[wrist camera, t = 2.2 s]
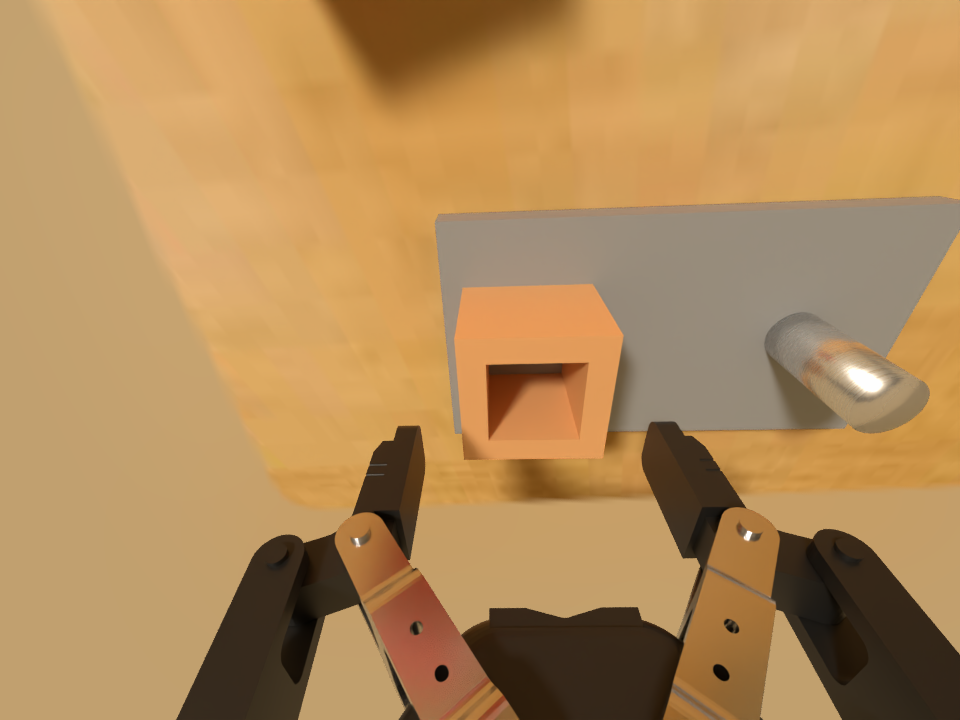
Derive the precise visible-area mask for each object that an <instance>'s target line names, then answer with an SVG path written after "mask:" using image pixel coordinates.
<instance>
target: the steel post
mask: <svg viewBox="0 0 960 720" xmlns="http://www.w3.org/2000/svg"><path fill="white" fill-rule="evenodd" d="M764 347H765V350H766V352H767V353H768V354H769V355H770V356H771V357H772V358H773V359H774V360H775V361H777V362H778V363H779V364H780V365H781V366H782V367H783V368H785V369H786V370H787V371H788V372H789V373H790V374H792V375H793V376H794V377H795V378H796V379H797V380H798V381H800V382H801V383H802V384H803V385H804V386H805V387H807V388H808V389H809V390H810V391H811V392H812V393H813V394H815V395H816V396H817V397H818V398H819V399H820V400H822V401H823V402H824V403H825V404H826V405H827V406H828V407H830V408H831V409H832V410H833V411H834V412H835V413H836V414H838V415H839V416H840V417H841V418H842V419H843V420H845V421H846V422H847V423H848V424H849V425H850V426H851V427H853V428H854V429H855V430H857V431H859V432H863V433H880V432H885V431H888V430H892V429H894V428H897V427H899V426H901V425H903V424H905V423H907V422H908V421H910V420H911V419H913V418H914V417H915V416H916V415H917V414H919V413H920V412H921V410H922V409H923V408H924V407H925V405H926V404H927V402H928V399H929V394H930V392H929V388H928V386H927V385H926V384H925V383H924V382H923V381H921V380H919V379H918V378H916V377H915V376H913V375H911V374H910V373H908V372H907V371H905V370H903V369H902V368H900V367H899V366H897V365H895V364H894V363H892V362H890V361H889V360H887V359H886V358H884V357H882V356H881V355H879V354H878V353H876V352H874V351H873V350H871V349H870V348H868V347H866V346H865V345H863V344H861V343H860V342H858V341H857V340H855V339H853V338H852V337H850V336H849V335H847V334H845V333H844V332H842V331H841V330H839V329H837V328H836V327H834V326H832V325H831V324H829V323H828V322H826V321H824V320H823V319H821V318H820V317H818V316H816V315H814V314H812V313H808V312H799V313H795V314H791V315H789V316H786V317H784V318H783V319H781V320H779V321H778V322H777V323H776V324H775V325H773V327H772V328H771V329H770V330H769V331H768V333H767V335H766V337H765V341H764Z"/></svg>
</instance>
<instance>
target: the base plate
mask: <svg viewBox="0 0 960 720" xmlns="http://www.w3.org/2000/svg"><path fill="white" fill-rule="evenodd" d="M435 228H436V239H437V249H438V260H439V270H440V281H441V291H442V302H443V312H444V323H445V333H446V344H447V354H448V365H449V375H450V386H451V396H452V407H453V417H454V428H455V434H462V428H461V416H460V404H459V391H458V379H457V367H456V355H455V343H454V337H455V331H456V325H457V319H458V313H459V307H460V301H461V294H462V288H468V287H503V286H539V285H574V284H593V285H594V287H595V288H596V290H597V292H598V293H599V295H600V297H601V298H602V300H603V302H604V303H605V305H606V307H607V308H608V310H609V312H610V313H611V315H612V317H613V318H614V320H615V322H616V324H617V325H618V327H619V329H620V330H621V332H622V334H623V335H624V337H623V342H622V348H621V354H620V360H619V366H618V372H617V378H616V384H615V389H614V395H613V401H612V407H611V413H610V419H609V425H608V431H607V432H615V431H648V427H649V424H650V423H651V422H660V421H674V422H676V423H677V425H678V426H679V428H680V429H681V431H690V430H764V429H839V428H845V427H846V425H847V424H848V423H847V422H846V421H845V420H843V419H842V418H841V417H840V416H839V415H838V414H836V413H835V412H834V411H833V410H832V409H831V408H830V407H828V406H827V405H826V404H825V403H824V402H823V401H822V400H820V399H819V398H818V397H817V396H816V395H815V394H813V393H812V392H811V391H810V390H809V389H808V388H807V387H805V386H804V385H803V384H802V383H801V382H800V381H798V380H797V379H796V378H795V377H794V376H793V375H792V374H790V373H789V372H788V371H787V370H786V369H785V368H783V367H782V366H781V365H780V364H779V363H778V362H777V361H775V360H774V359H773V358H772V357H771V356H770V355H769V354H768V353H767V352H766V350H765V347H764V341H765V337H766V335H767V333H768V331H769V330H770V329H771V328H772V327H773V325H775V324H776V323H777V322H778V321H779V320H781V319H783V318H784V317H786V316H789V315H791V314H795V313H799V312H808V313H812V314H814V315H816V316H818V317H820V318H821V319H823V320H824V321H826V322H828V323H829V324H831V325H832V326H834V327H836V328H837V329H839V330H841V331H842V332H844V333H845V334H847V335H849V336H850V337H852V338H853V339H855V340H857V341H858V342H860V343H861V344H863V345H865V346H866V347H868V348H870V349H871V350H873V351H874V352H876V353H878V354H879V355H881V356H882V357H884V358H886V356H887V355H888V353H889V351H890V349H891V348H892V346H893V344H894V343H895V341H896V339H897V337H898V336H899V334H900V332H901V330H902V329H903V327H904V325H905V324H906V322H907V320H908V318H909V317H910V315H911V313H912V312H913V310H914V308H915V306H916V305H917V303H918V301H919V299H920V298H921V296H922V294H923V293H924V291H925V289H926V287H927V286H928V284H929V282H930V281H931V279H932V277H933V275H934V274H935V272H936V270H937V268H938V267H939V265H940V263H941V262H942V260H943V258H944V256H945V255H946V253H947V251H948V249H949V248H950V246H951V244H952V243H953V241H954V239H955V237H956V236H957V234H958V232H959V231H960V200H957V199H951V198H946V197H940V196H938V197H910V198H882V199H854V200H826V201H798V202H770V203H742V204H714V205H685V206H657V207H629V208H601V209H573V210H545V211H517V212H489V213H461V214H439V215H438V217H437V219H436V221H435ZM551 373H562V363H544V364H494V365H489V375H499V374H551Z"/></svg>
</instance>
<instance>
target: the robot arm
mask: <svg viewBox="0 0 960 720" xmlns="http://www.w3.org/2000/svg"><path fill="white" fill-rule="evenodd" d="M642 466H643V470H644V473H645V475H646V477H647V480H648V482H649V484H650V486H651V489H652V491H653V493H654V495H655V497H656V500H657V502H658V504H659V506H660V509H661V510H662V513H663V515H664V517H665V520H666V522H667V524H668V526H669V529H670V531H671V533H672V535H673V537H674V540H675V542H676V544H677V546H678V549H679V551H680V553H681V555H682V557H683V558H697V560H698V562H699V564H700V568H699V571H698V574H697V577H696V580H695V583H694V586H693V589H692V592H691V595H690V598H689V602H688V605H687V608H686V611H685V614H684V617H683V621H682V623H681V626H680V629H679V631H678V634H677V637H675V636H673V635H672V634H670V633H669V632H667V631H666V630H664V629H662V628H660V627H658V626H657V625H654V624H652V623H649V622H647V621H643V620H641V616H640V613H639V610H638V608H637V607H615V608H614V607H613V608H598V609H595V610H592V611H588V612H585V613H582V614H578V615H575V616H572V617H569V618H561V617H557V616H553V615H549V614H545V613H542V612H538V611H534V610H530V609H527V608H490V610H489V612H490V613H489V614H490V616H489V620H488V621H484V622H481V623H480V624H477V625H475V626H473V627H471V628H470V629H468V630H467V631H465V632H464V633H463V634H462V635H461V634H460V633H459V631H458V630H457V628H456V626H455V625H454V623H453V622H452V620H451V619H450V617H449V615H448V614H447V612H446V611H445V609H444V608H443V606H442V605H441V603H440V601H439V600H438V599H437V597H436V596H435V594H434V592H433V591H432V589H431V587H430V586H429V584H428V583H427V581H426V580H425V578H424V576H423V575H422V574H421V572H420V571H419V570H418V569H417V568H415V569H413V568H412V566H411V565H410V563H409V562H408V560H410V556H411V550H412V544H413V538H414V532H415V527H416V521H417V516H418V510H419V504H420V498H421V492H422V486H423V481H424V474H425V455H424V448H423V442H422V435H421V429H420V426H398V428H397V431H396V434H395V438H394V441H383V442H382V443H381V444H380V445H379V446H378V448H377V449H376V450H375V451H374V452H373V455H372V458H371V461H370V466H369V467H368V470H367V473H366V476H365V479H364V482H363V485H362V488H361V491H360V494H359V497H358V500H357V503H356V506H355V509H354V512H353V514H352V516H351V517H350V518H348V519H347V520H345V521H344V522H343V523H342V525H341V526H340V527H339V528H338V530H337V531H336V532H335V533H333V534H331V535H329V536H326V537H323V538H320V539H316V540H313V541H310V542H306V543H303V541H302V540H301V539H300V538H299V537H297V536H295V535H281V536H278V537H276V538H273V539H271V540H269V541H268V542H266V543H265V544H264V545H262V546H261V547H260V548H259V549H258V550H257V551H256V553H255V554H254V556H253V557H252V559H251V562H250V564H249V566H248V568H247V570H246V572H245V574H244V576H243V578H242V581H241V583H240V585H239V587H238V589H237V591H236V593H235V596H234V598H233V600H232V602H231V604H230V606H229V608H228V610H227V613H226V615H225V617H224V619H223V621H222V623H221V626H220V628H219V630H218V632H217V634H216V636H215V638H214V640H213V643H212V645H211V647H210V649H209V651H208V653H207V655H206V657H205V660H204V662H203V664H202V666H201V668H200V670H199V673H198V675H197V677H196V679H195V681H194V684H193V685H192V688H191V689H190V692H189V694H188V696H187V698H186V700H185V703H184V704H183V707H182V709H181V711H180V713H179V715H178V717H177V719H176V720H298V717H299V713H300V710H301V706H302V702H303V698H304V694H305V691H306V687H307V683H308V679H309V676H310V672H311V668H312V664H313V661H314V657H315V653H316V649H317V645H318V642H319V638H320V634H321V630H322V627H323V623H324V619H325V616H326V615H329V614H332V613H334V612H337V611H340V610H343V609H346V608H349V607H351V606H354V605H358V607H359V609H360V611H361V613H362V616H363V618H364V620H365V622H366V624H367V626H368V629H369V631H370V633H371V635H372V637H373V639H374V642H375V644H376V646H377V648H378V650H379V652H380V655H381V657H382V659H383V662H384V664H385V666H386V669H387V671H388V673H389V676H390V678H391V681H392V683H393V685H394V687H395V689H396V692H397V693H398V696H399V698H400V700H401V702H402V705H403V707H404V709H405V711H404V713H403V714H402V715H401V717H400V718H399V720H763V719H762V718H761V717H760V715H761V708H762V701H763V694H764V687H765V681H766V673H767V667H768V659H769V653H770V646H771V639H772V632H773V625H774V618H775V611H776V610H780V611H783V612H784V614H785V616H786V618H787V619H788V621H789V623H790V625H791V627H792V629H793V630H794V632H795V634H796V636H797V638H798V639H799V641H800V643H801V645H802V647H803V649H804V651H805V652H806V654H807V656H808V658H809V660H810V661H811V663H812V665H813V667H814V669H815V671H816V673H817V674H818V676H819V678H820V680H821V682H822V683H823V685H824V687H825V689H826V691H827V693H828V695H829V696H830V698H831V700H832V702H833V704H834V706H835V707H836V709H837V711H838V713H839V715H840V717H841V718H842V720H960V655H959V653H958V652H957V651H956V650H955V648H954V647H953V646H952V645H951V644H950V642H949V641H948V640H947V639H946V637H945V636H944V635H943V634H942V633H941V631H940V630H939V629H938V628H937V627H936V626H935V624H934V623H933V622H932V621H931V619H930V618H929V617H928V616H927V615H926V614H925V612H924V611H923V610H922V609H921V607H920V606H919V605H918V604H917V603H916V601H915V600H914V599H913V598H912V597H911V596H910V594H909V593H908V592H907V591H906V589H905V588H904V587H903V586H902V585H901V583H900V582H899V581H898V580H897V579H896V577H895V576H894V575H893V574H892V572H891V571H890V570H889V569H888V568H887V566H886V565H885V564H884V563H883V562H882V561H881V559H880V558H879V557H878V556H877V554H876V553H875V552H874V551H873V550H872V549H871V548H870V547H868V545H866V544H865V543H864V542H862V541H861V540H859V539H857V538H856V537H854V536H852V535H850V534H847V533H845V532H842V531H838V530H833V529H824V530H820V531H818V532H817V533H816V534H815V536H814V538H813V539H809V538H805V537H801V536H797V535H793V534H789V533H785V532H782V531H778V530H776V528H775V527H774V526H773V524H772V523H771V522H770V521H769V520H767V519H766V518H764V517H763V516H762V515H760V514H758V513H756V512H754V511H752V510H749V509H747V508H746V507H745V505H744V504H743V502H742V501H741V500H740V498H739V496H738V495H737V493H736V492H735V490H734V489H733V487H732V486H731V484H730V483H729V481H728V480H727V478H726V477H725V475H724V474H723V473H722V471H720V468H719V467H718V465H717V464H716V462H715V461H713V458H712V456H711V455H710V453H709V452H708V450H707V449H706V447H705V446H704V445H702V444H701V443H700V442H699V441H697V440H696V439H695V438H694V437H692V436H684V434H683V432H682V431H681V429H680V428H679V426H678V425H677V423H676V422H674V421H660V422H651V423H650V424H649V427H648V431H647V435H646V439H645V443H644V448H643V452H642Z"/></svg>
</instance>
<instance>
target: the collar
mask: <svg viewBox="0 0 960 720" xmlns="http://www.w3.org/2000/svg"><path fill="white" fill-rule="evenodd" d="M623 337H624V335H623V334H622V332H621V330H620V329H619V327H618V325H617V324H616V322H615V320H614V318H613V317H612V315H611V313H610V312H609V310H608V308H607V307H606V305H605V303H604V302H603V300H602V298H601V297H600V295H599V293H598V292H597V290H596V288H595V287H594V285H593V284H574V285H539V286H503V287H468V288H462V294H461V301H460V307H459V313H458V319H457V325H456V331H455V337H454V343H455V355H456V367H457V379H458V391H459V404H460V416H461V428H462V440H463V452H464V460H482V459H575V458H603V454H604V448H605V442H606V436H607V431H608V425H609V419H610V413H611V407H612V401H613V395H614V389H615V384H616V378H617V372H618V366H619V360H620V354H621V348H622V342H623ZM544 363H562V373H551V374H499V375H489V365H494V364H544Z"/></svg>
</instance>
